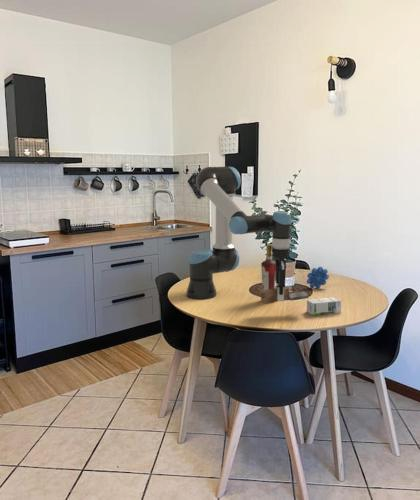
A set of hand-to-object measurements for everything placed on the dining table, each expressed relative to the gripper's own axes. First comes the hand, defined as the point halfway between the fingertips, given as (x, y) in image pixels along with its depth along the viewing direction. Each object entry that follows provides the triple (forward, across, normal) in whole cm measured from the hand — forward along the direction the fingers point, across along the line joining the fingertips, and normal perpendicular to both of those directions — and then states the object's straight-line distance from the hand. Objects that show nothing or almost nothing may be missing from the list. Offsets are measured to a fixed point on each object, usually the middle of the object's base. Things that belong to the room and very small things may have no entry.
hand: (279, 299), depth 195 cm
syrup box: (+4, 0, -13) cm, 14 cm away
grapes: (+7, +42, -27) cm, 51 cm away
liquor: (+7, +20, +2) cm, 21 cm away
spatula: (0, 0, -2) cm, 2 cm away
